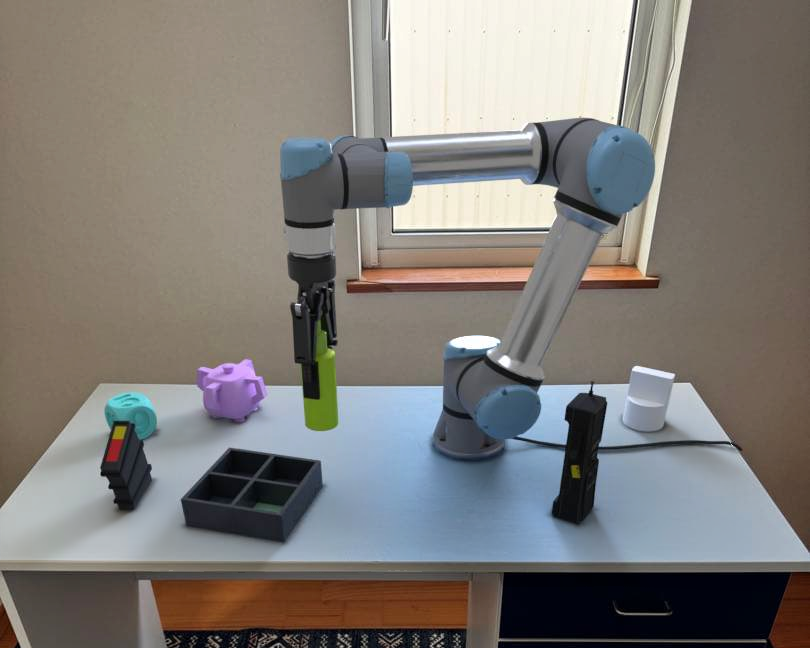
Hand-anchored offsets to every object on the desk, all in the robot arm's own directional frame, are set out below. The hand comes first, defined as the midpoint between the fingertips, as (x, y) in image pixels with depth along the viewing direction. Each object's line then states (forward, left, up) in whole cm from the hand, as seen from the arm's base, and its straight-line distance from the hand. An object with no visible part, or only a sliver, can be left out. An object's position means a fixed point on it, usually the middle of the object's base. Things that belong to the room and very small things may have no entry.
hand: (319, 389), depth 130 cm
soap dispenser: (0, 0, -7) cm, 7 cm away
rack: (+13, +4, -23) cm, 27 cm away
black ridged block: (+37, +8, -24) cm, 44 cm away
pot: (+34, -30, -24) cm, 51 cm away
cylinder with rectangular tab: (-57, -50, -24) cm, 79 cm away
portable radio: (-45, -9, -24) cm, 52 cm away
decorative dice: (+51, -15, -24) cm, 58 cm away
